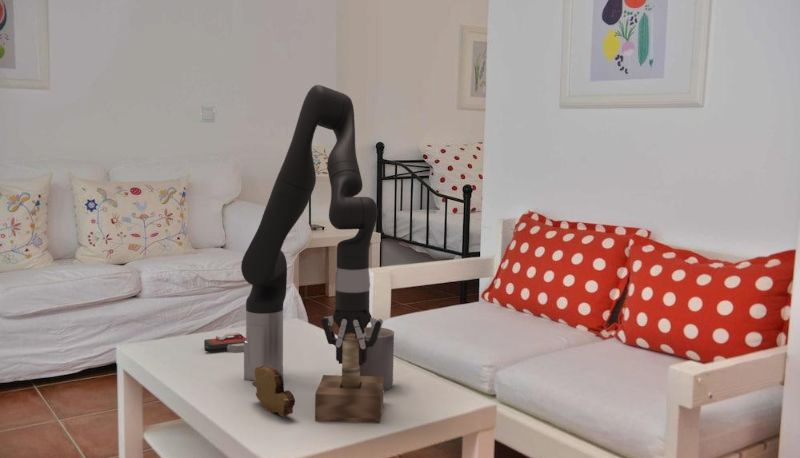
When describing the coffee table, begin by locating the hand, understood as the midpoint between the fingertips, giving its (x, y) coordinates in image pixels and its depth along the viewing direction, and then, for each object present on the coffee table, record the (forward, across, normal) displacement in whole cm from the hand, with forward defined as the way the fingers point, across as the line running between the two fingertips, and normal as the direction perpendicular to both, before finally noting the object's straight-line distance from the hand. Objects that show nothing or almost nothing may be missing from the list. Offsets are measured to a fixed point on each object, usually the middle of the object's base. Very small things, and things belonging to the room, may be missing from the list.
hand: (351, 363), depth 180 cm
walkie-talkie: (+12, -44, +44) cm, 64 cm away
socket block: (+11, 0, 0) cm, 11 cm away
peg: (+7, 0, 0) cm, 7 cm away
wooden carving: (+11, -17, -4) cm, 20 cm away
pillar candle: (+11, +1, +19) cm, 22 cm away
